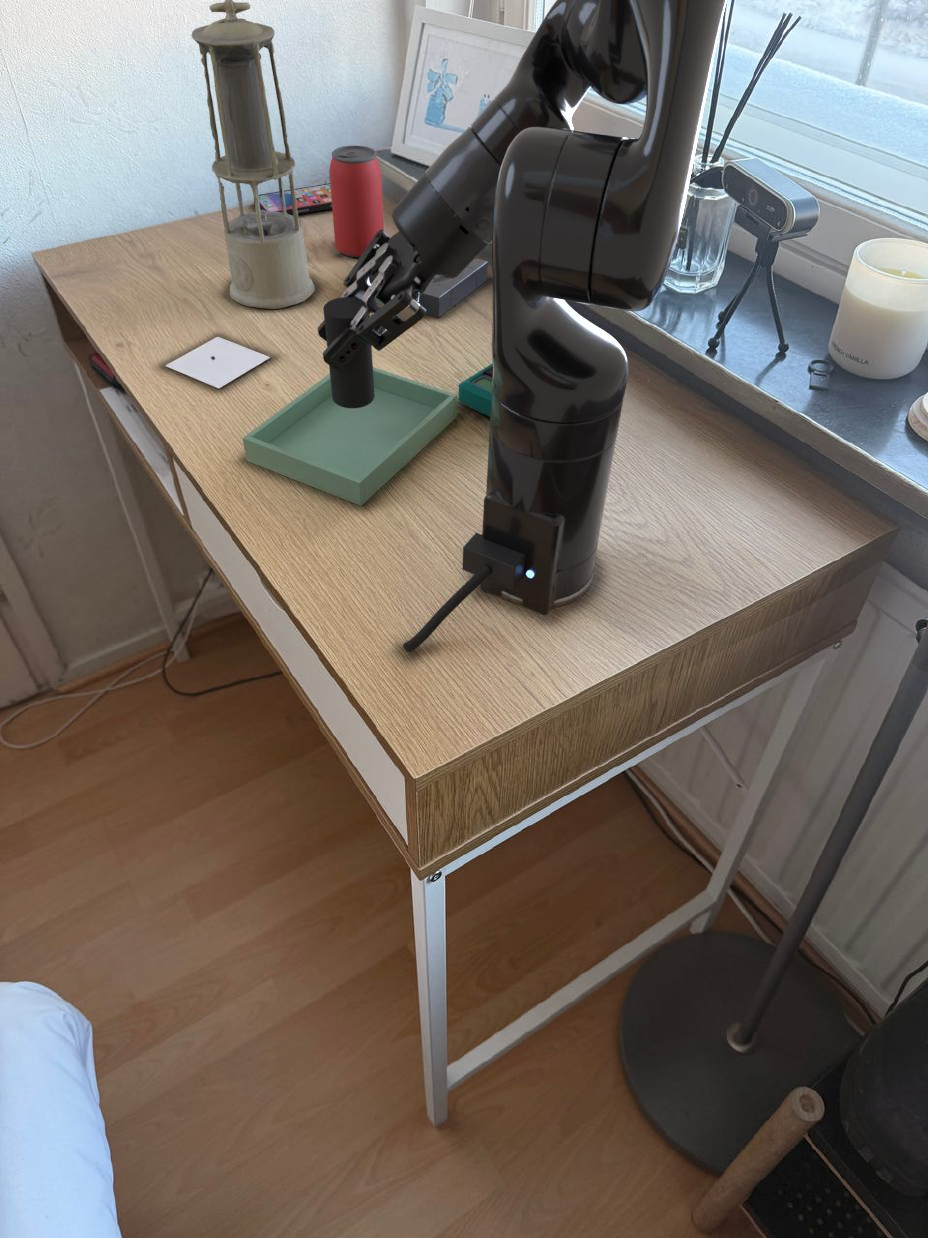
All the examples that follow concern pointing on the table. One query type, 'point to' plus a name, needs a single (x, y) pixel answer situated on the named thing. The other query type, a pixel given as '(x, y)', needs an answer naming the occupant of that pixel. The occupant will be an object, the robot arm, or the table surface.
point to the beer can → (355, 198)
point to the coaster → (217, 362)
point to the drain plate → (452, 288)
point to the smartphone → (299, 199)
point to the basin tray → (351, 435)
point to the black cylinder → (357, 377)
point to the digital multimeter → (478, 391)
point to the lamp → (252, 164)
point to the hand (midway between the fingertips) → (328, 350)
